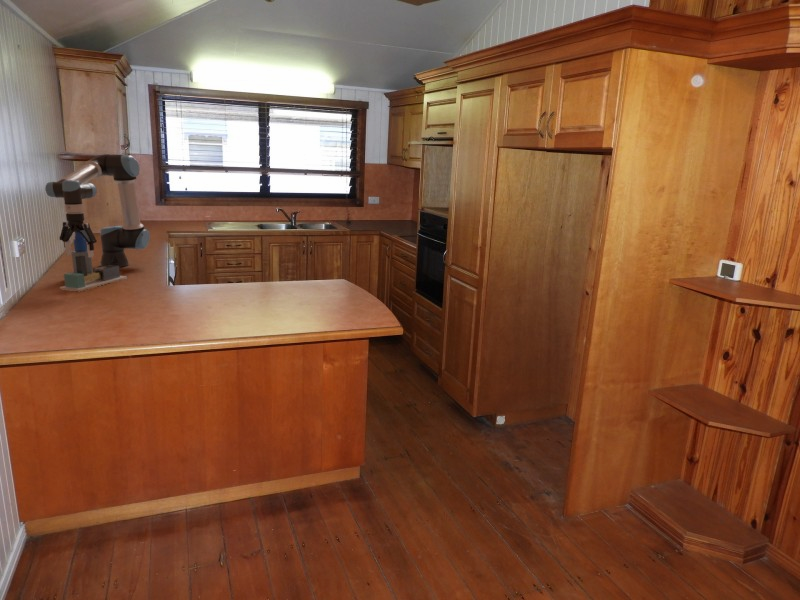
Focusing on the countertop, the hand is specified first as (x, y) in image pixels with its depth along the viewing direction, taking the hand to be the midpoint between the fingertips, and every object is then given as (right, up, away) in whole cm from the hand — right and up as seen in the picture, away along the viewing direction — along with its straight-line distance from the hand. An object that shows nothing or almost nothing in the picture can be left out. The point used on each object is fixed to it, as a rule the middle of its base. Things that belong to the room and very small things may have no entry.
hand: (80, 255), depth 279 cm
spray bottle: (-11, -10, +24) cm, 28 cm away
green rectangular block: (-2, -15, -1) cm, 16 cm away
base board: (+2, -14, +11) cm, 18 cm away
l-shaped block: (+1, -12, +6) cm, 14 cm away
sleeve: (+4, -10, +19) cm, 22 cm away
